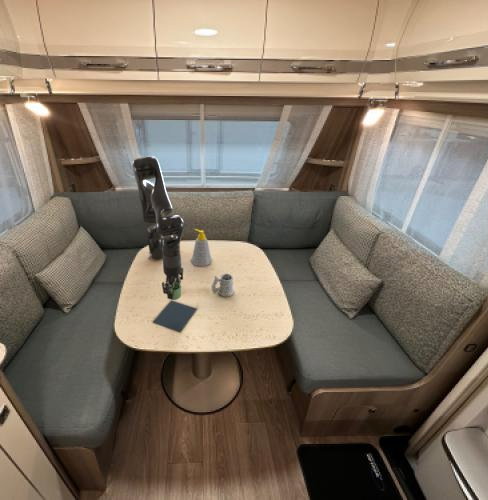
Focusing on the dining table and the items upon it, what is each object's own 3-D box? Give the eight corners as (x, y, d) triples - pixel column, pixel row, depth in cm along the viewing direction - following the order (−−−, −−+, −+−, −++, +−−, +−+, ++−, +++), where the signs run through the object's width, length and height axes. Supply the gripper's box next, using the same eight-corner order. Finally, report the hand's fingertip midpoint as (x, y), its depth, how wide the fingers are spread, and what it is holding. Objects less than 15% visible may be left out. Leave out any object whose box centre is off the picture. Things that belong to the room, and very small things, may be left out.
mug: (235, 295, 136) (237, 276, 130) (214, 300, 133) (214, 281, 127) (229, 286, 143) (230, 268, 137) (208, 291, 139) (209, 272, 133)
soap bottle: (199, 253, 172) (199, 224, 162) (215, 259, 166) (216, 230, 156) (187, 261, 163) (186, 232, 153) (203, 268, 157) (203, 238, 147)
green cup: (171, 290, 122) (171, 280, 119) (183, 293, 120) (183, 284, 117) (164, 298, 117) (163, 288, 114) (177, 302, 115) (176, 292, 112)
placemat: (171, 300, 132) (171, 300, 132) (196, 308, 127) (196, 308, 127) (152, 322, 120) (152, 321, 120) (180, 332, 115) (180, 331, 115)
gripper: (173, 252, 116) (174, 283, 125) (154, 268, 105) (157, 301, 113) (188, 256, 114) (189, 287, 122) (171, 273, 102) (173, 306, 111)
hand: (174, 294), depth 118 cm, fingers closed on green cup, 6 cm apart
